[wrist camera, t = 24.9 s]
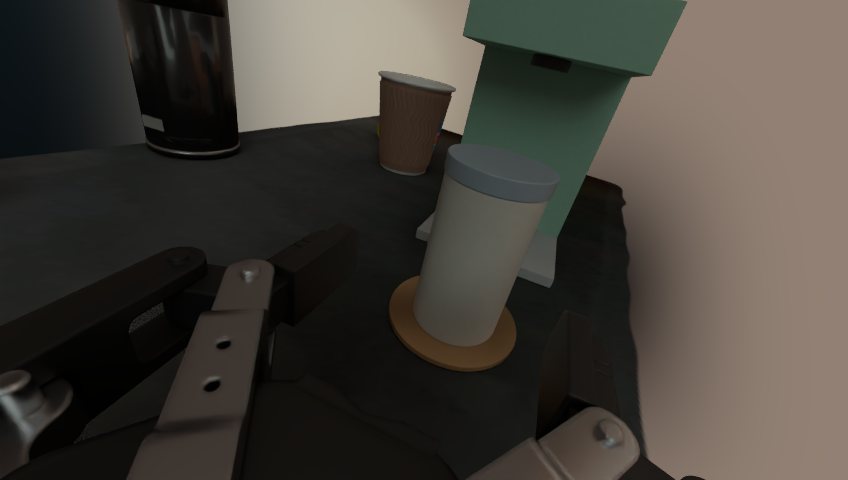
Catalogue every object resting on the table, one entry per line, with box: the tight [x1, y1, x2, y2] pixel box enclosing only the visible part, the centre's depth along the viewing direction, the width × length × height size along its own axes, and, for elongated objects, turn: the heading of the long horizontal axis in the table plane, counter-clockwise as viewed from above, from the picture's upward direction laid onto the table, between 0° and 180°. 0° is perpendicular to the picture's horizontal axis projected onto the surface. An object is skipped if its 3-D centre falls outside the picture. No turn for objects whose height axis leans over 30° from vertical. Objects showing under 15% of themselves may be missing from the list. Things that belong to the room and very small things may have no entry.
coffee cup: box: [379, 71, 456, 176], centre depth 46 cm, size 10×10×12 cm
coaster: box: [388, 276, 516, 372], centre depth 23 cm, size 9×9×1 cm
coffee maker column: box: [461, 46, 631, 238], centre depth 35 cm, size 6×13×21 cm, turn 68°
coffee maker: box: [416, 0, 687, 288], centre depth 29 cm, size 9×13×21 cm
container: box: [413, 144, 560, 347], centre depth 20 cm, size 6×6×11 cm
